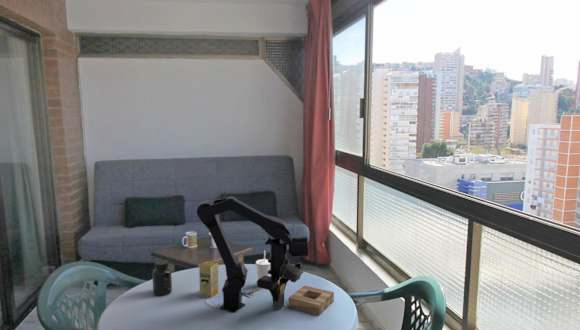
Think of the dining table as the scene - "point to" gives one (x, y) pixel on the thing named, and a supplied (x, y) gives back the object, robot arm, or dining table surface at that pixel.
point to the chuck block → (311, 299)
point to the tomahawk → (251, 292)
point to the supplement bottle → (162, 279)
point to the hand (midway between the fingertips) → (278, 299)
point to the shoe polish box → (208, 278)
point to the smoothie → (263, 267)
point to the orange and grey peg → (279, 298)
